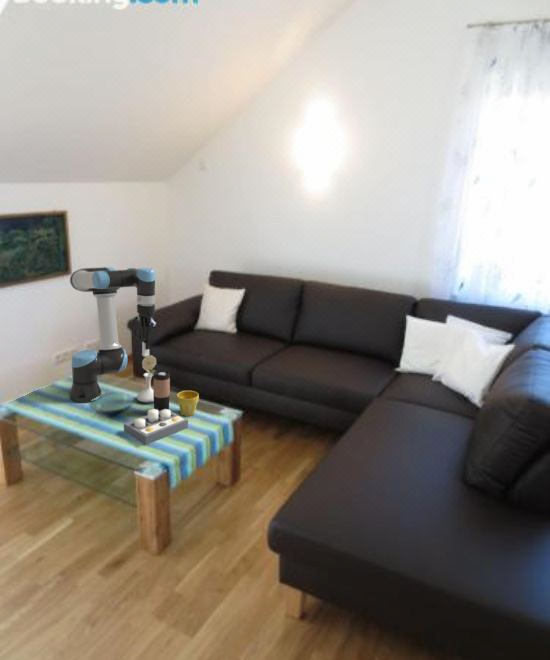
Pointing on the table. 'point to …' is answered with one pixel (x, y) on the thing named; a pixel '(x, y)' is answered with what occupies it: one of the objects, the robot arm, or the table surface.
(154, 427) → the strip
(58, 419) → the table surface
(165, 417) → the button
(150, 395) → the flower in vase
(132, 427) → the tray
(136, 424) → the button
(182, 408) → the plant pot
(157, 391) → the travel mug
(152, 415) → the button
